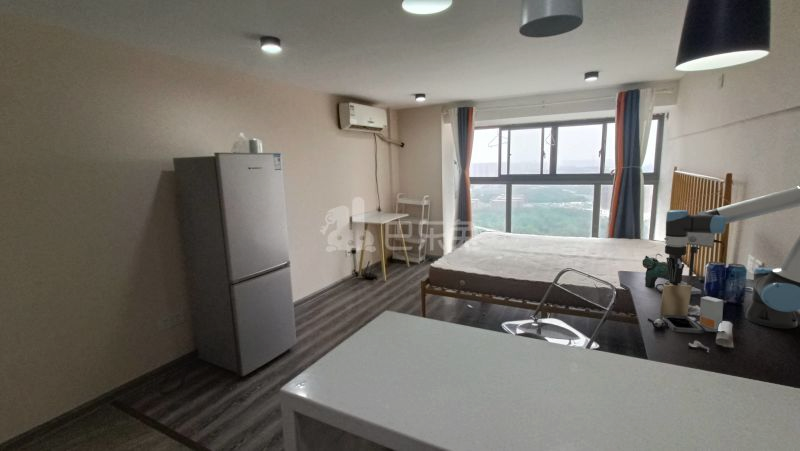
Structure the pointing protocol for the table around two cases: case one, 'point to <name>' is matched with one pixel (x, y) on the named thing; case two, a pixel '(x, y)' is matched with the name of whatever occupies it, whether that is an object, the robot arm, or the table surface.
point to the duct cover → (675, 299)
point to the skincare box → (711, 312)
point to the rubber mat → (707, 328)
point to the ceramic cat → (654, 270)
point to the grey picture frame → (676, 329)
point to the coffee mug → (669, 284)
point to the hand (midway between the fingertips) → (673, 296)
